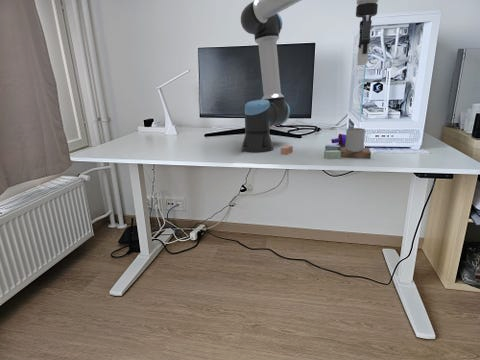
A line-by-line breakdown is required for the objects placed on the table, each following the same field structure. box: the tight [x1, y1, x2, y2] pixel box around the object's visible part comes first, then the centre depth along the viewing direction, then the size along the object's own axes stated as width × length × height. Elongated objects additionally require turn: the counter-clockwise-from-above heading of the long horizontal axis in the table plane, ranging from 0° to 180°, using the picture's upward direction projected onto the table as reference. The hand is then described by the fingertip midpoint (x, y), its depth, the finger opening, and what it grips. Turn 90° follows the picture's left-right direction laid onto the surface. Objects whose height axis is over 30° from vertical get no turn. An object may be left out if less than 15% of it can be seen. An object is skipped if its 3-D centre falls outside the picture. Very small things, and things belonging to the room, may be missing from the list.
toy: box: [331, 133, 346, 147], centre depth 153 cm, size 11×8×15 cm
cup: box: [344, 127, 366, 152], centre depth 132 cm, size 7×10×9 cm
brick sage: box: [323, 150, 342, 160], centre depth 131 cm, size 6×3×3 cm, turn 91°
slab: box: [340, 146, 372, 160], centre depth 134 cm, size 12×10×2 cm
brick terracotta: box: [280, 145, 294, 155], centre depth 142 cm, size 6×3×3 cm, turn 146°
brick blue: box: [324, 144, 341, 152], centre depth 142 cm, size 6×3×3 cm, turn 56°
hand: (361, 64), depth 124 cm, fingers open, 13 cm apart
